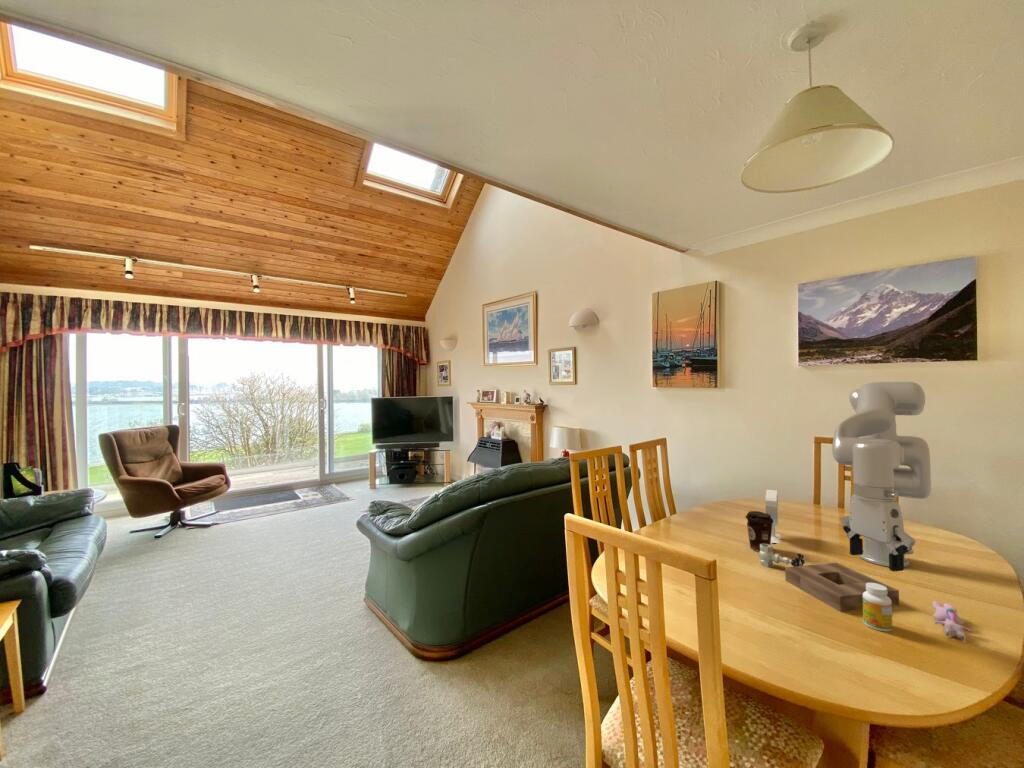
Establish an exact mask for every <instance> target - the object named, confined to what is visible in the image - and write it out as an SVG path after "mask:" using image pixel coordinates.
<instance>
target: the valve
mask: <svg viewBox="0 0 1024 768" xmlns="http://www.w3.org/2000/svg"><path fill="white" fill-rule="evenodd" d="M773 549H774V547H773V545H772V544H771V545H769V544H760V552H759V553H758V556H759V562H760V565H761V566H762V567H765V568H774V563H775V564H780V563H783V564H785V565H789V564H790V565H791V567H795V566H804V564H805V563H806V562H805V561H806V560H804V557H805V556H804V554H802V553H799V552H798V553H797V557H795V558H792V559H789V557H785V556H781V554H780V553H776V552H775V553H774V552H773Z"/></svg>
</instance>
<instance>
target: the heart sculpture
mask: <svg viewBox="0 0 1024 768" xmlns="http://www.w3.org/2000/svg"><path fill="white" fill-rule="evenodd" d="M778 501H779V499H778V490H775V489H774V490H773V489H766V492H765V513H766V514H769V515H770V516H771V518H772V520H773V523H772V530H771V531H772V532H771V543H772V542H773V543H780V544H781V540H779V539H780V535H781V534H779V533H776V526H779V517H778V516H779V502H778ZM775 533H776V534H775ZM779 541H780V542H779Z"/></svg>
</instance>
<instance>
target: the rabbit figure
mask: <svg viewBox="0 0 1024 768" xmlns="http://www.w3.org/2000/svg"><path fill="white" fill-rule="evenodd" d="M932 607H933V609H934V610H935V612H934V614H933V618H934V619H935V621H933V623H934V624H935V625H937V624H941V625H943V632H944V634H945V635H946V636H947V639H949V640H953V638H955V637H956V638H957V639H959V640H960V641H961V642H962V643H964V644H966V645H967V644H969V642H968V640H967V635H966V632H965V630H966V631H968V632H969V633H970V632H972V629H971V628H969V627H966V626H964V625H963V624H965V623H964V620H963V619H962V618H961V617H960V616H959V615H958V612H957V608H956V607H955V606H954V605H953V604H950V603H944V604H942V603H940V602H939V601H936V600H934V601H932Z"/></svg>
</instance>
